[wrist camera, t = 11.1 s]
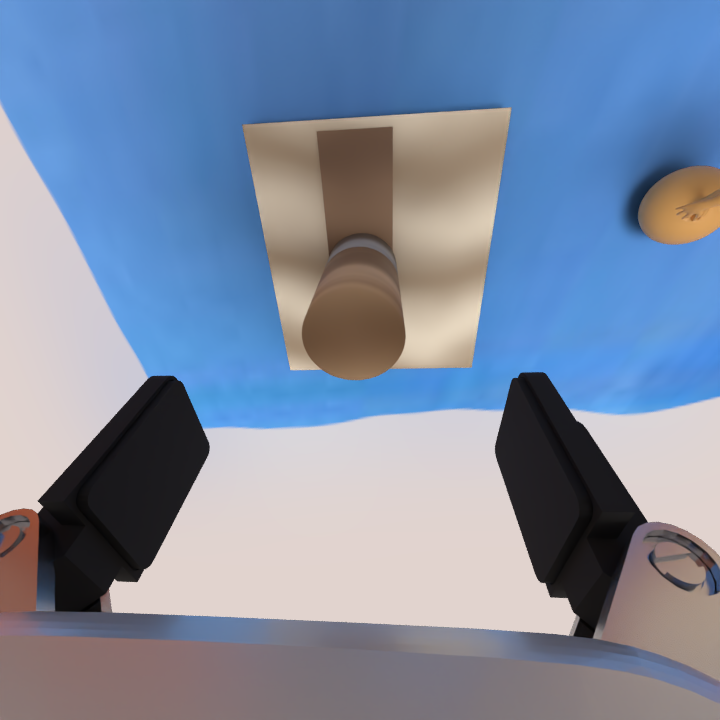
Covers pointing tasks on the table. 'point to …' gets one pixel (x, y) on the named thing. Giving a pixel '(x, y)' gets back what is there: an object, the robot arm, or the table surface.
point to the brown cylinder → (356, 311)
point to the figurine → (682, 206)
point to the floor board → (385, 216)
